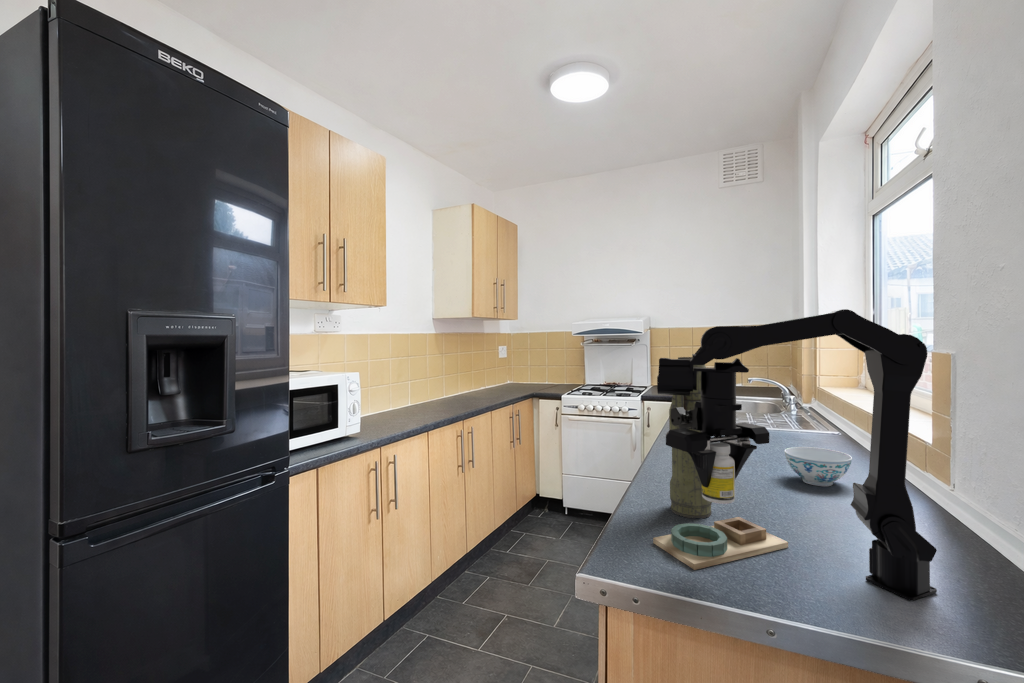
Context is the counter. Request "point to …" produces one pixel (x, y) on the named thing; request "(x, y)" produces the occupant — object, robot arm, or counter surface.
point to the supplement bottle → (721, 476)
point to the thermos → (687, 466)
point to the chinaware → (818, 464)
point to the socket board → (718, 542)
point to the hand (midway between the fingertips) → (717, 484)
